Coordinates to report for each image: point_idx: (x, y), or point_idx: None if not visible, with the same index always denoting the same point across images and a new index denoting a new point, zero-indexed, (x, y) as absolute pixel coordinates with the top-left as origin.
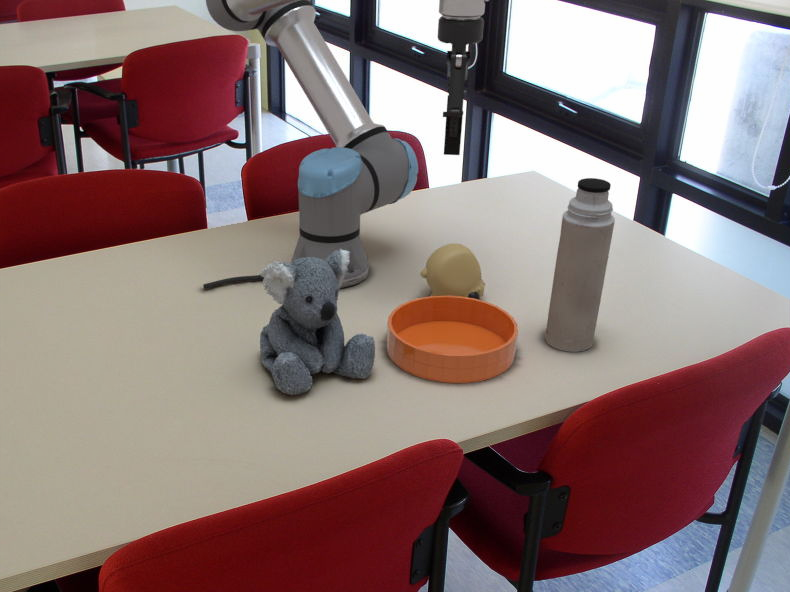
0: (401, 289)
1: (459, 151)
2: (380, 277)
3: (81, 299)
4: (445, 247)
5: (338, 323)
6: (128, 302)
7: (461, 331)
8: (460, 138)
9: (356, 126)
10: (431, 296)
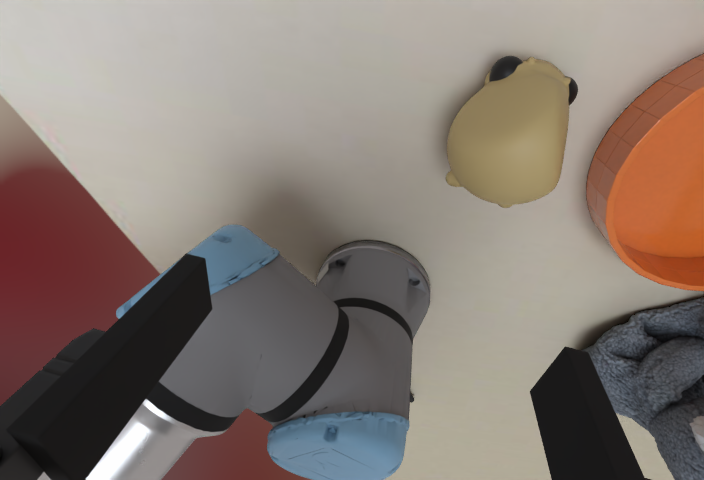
0: (444, 203)
1: (594, 369)
2: (393, 225)
3: (419, 461)
4: (514, 184)
5: (701, 369)
6: (431, 441)
7: (663, 132)
8: (627, 442)
9: (175, 441)
10: (609, 203)
